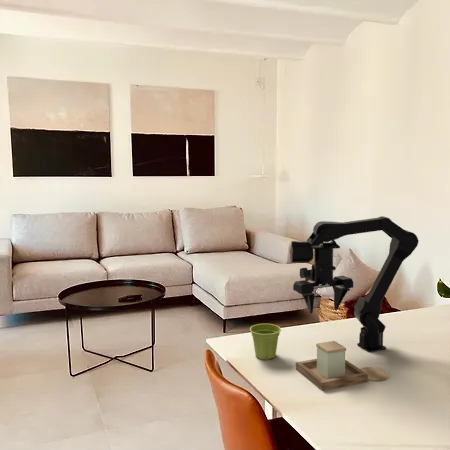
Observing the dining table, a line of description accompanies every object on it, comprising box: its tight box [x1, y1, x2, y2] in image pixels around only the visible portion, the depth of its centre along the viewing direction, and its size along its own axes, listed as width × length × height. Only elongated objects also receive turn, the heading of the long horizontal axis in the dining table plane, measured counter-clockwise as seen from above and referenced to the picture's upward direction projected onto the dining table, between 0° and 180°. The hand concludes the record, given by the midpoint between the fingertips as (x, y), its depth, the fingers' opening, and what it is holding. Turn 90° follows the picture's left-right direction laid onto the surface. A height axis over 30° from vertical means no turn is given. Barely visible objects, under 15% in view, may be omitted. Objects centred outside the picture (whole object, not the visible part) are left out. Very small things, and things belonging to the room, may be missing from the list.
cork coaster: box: [360, 366, 390, 382], centre depth 132 cm, size 8×8×1 cm
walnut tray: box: [295, 358, 369, 391], centre depth 132 cm, size 14×14×2 cm
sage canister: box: [315, 340, 347, 379], centre depth 132 cm, size 6×6×8 cm
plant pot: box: [249, 323, 282, 361], centre depth 146 cm, size 9×9×9 cm
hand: (323, 311), depth 151 cm, fingers open, 9 cm apart
